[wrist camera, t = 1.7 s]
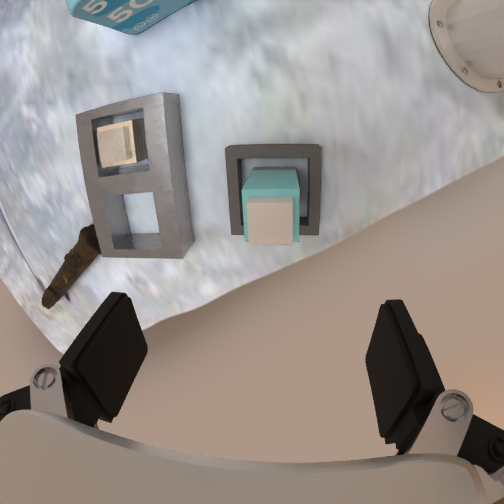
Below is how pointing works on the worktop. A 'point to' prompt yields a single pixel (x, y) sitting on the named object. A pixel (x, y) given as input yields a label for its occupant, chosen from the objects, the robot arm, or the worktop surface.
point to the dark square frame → (309, 151)
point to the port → (136, 175)
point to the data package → (125, 12)
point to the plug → (271, 206)
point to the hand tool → (73, 265)
